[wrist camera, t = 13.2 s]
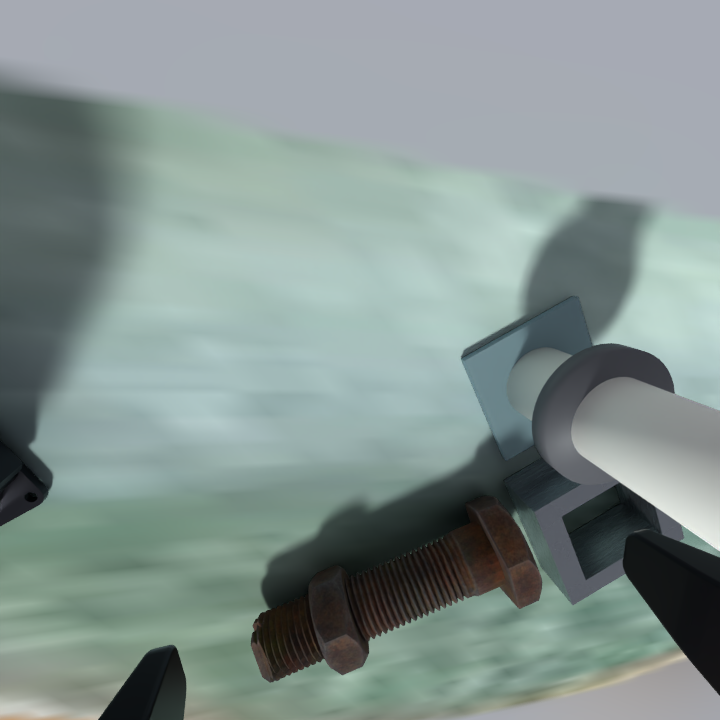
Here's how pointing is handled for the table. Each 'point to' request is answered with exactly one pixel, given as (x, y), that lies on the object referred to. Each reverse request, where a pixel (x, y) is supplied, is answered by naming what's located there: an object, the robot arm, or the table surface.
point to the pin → (623, 428)
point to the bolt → (396, 594)
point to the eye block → (588, 543)
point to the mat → (498, 358)
